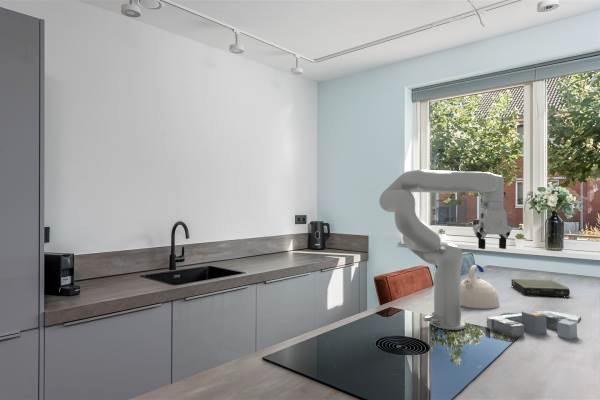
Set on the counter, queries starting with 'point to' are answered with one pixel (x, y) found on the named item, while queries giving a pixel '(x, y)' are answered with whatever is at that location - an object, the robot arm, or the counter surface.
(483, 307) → the kettle
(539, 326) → the module block
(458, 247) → the robot arm
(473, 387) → the counter surface
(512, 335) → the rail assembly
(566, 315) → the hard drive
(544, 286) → the network switch
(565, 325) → the block
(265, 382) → the counter surface
